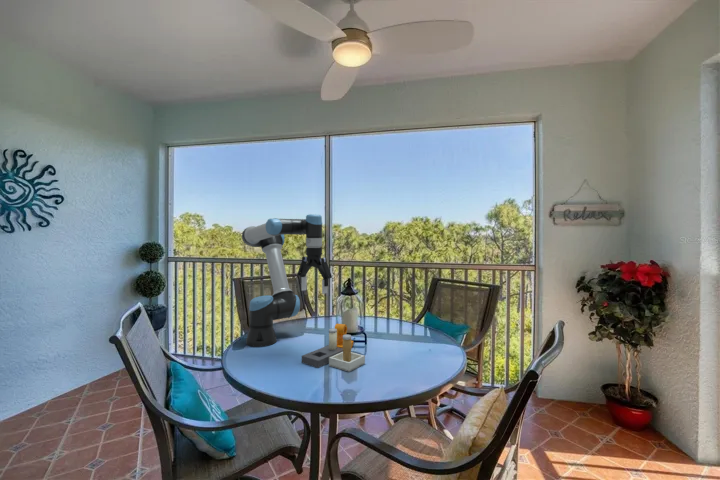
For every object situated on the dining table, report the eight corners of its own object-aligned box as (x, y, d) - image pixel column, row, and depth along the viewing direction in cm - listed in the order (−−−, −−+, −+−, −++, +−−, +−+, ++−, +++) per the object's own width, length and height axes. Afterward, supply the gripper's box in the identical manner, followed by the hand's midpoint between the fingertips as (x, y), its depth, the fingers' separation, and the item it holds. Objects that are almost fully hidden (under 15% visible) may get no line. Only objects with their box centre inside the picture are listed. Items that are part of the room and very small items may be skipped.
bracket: (345, 353, 164) (345, 328, 163) (331, 351, 166) (331, 326, 166) (354, 346, 174) (354, 322, 174) (340, 344, 176) (340, 321, 176)
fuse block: (318, 367, 146) (318, 339, 145) (301, 362, 152) (301, 335, 151) (345, 355, 160) (345, 329, 160) (329, 351, 166) (329, 326, 166)
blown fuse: (341, 363, 149) (341, 335, 149) (346, 361, 152) (346, 333, 151) (347, 365, 147) (347, 337, 146) (352, 363, 150) (352, 335, 149)
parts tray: (329, 365, 148) (329, 357, 148) (345, 358, 157) (345, 350, 157) (349, 371, 142) (349, 363, 142) (364, 363, 150) (364, 355, 150)
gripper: (290, 246, 168) (290, 290, 169) (328, 248, 153) (328, 295, 154) (301, 246, 174) (301, 288, 175) (339, 247, 160) (339, 293, 160)
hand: (314, 291), depth 164 cm, fingers open, 13 cm apart
